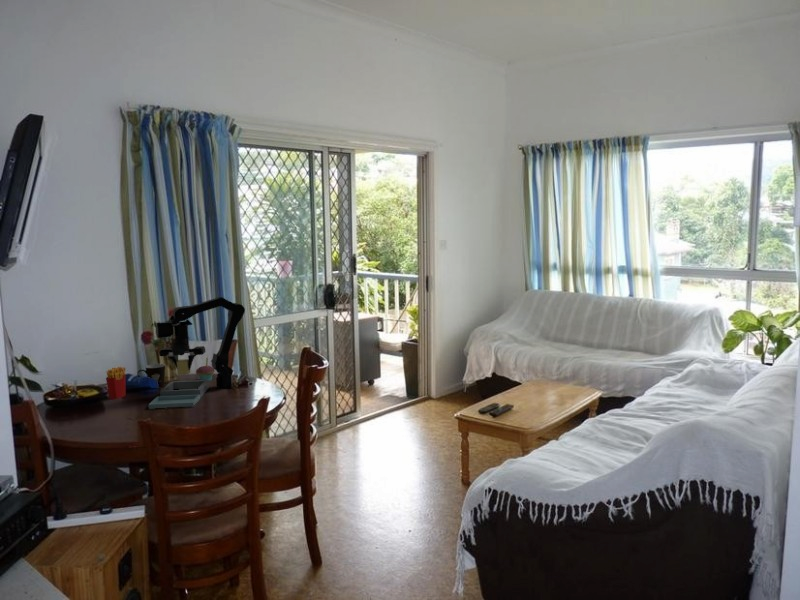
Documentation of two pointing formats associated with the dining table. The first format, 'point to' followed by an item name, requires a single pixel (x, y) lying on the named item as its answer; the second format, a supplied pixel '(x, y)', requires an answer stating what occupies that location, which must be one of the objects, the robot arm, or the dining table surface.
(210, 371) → the cupcake
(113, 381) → the french fries
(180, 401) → the tray
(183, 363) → the block
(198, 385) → the bin
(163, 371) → the coffee mug
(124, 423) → the dining table surface
